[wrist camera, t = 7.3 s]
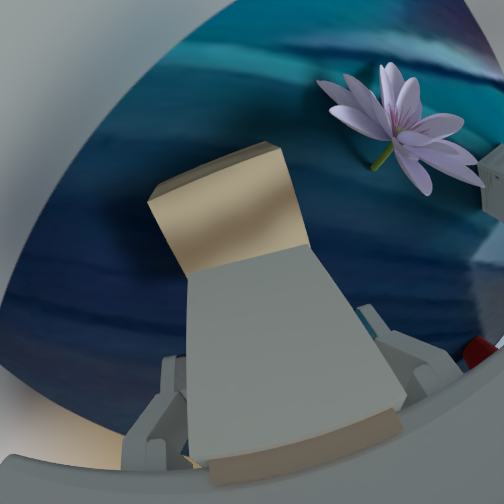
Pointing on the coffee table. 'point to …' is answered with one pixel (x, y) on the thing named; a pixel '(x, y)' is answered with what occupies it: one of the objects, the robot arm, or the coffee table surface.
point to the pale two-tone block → (280, 370)
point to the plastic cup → (478, 351)
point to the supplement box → (493, 182)
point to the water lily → (403, 127)
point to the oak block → (230, 209)
